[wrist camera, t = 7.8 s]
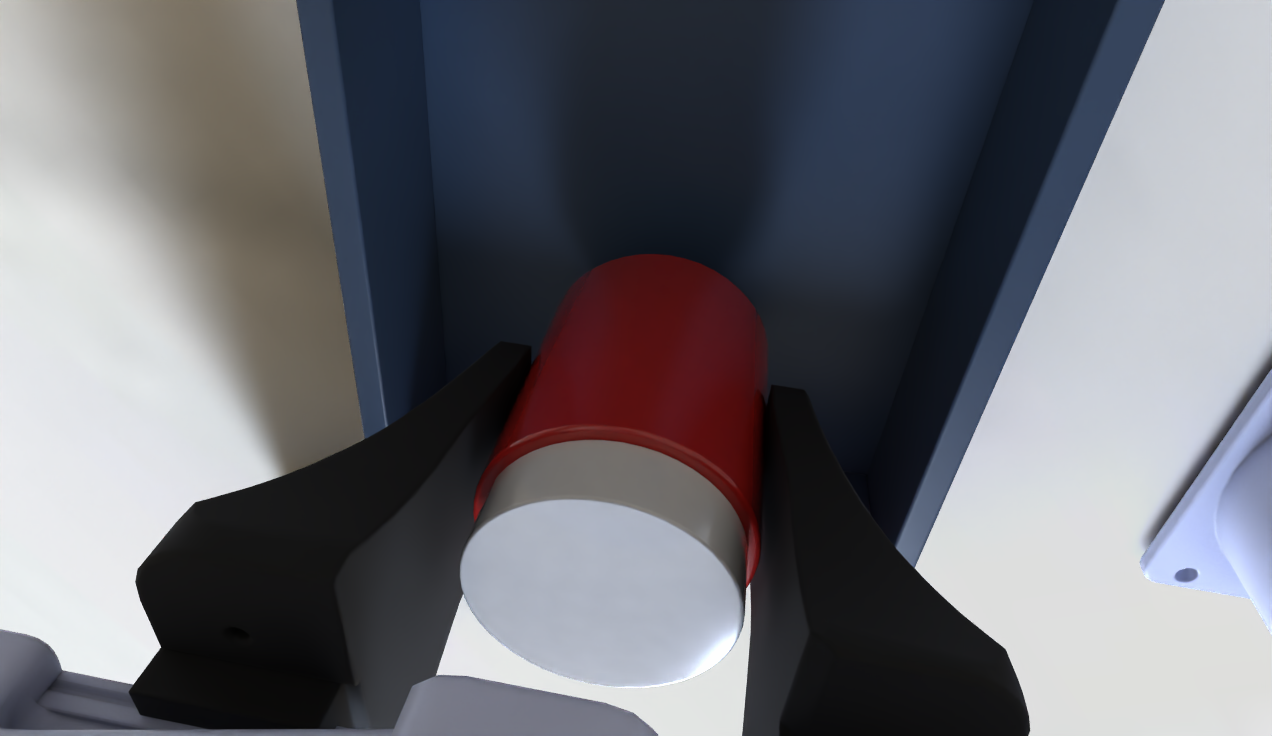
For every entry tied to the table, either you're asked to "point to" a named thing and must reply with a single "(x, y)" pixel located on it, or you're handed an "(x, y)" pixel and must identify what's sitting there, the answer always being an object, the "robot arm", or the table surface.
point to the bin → (721, 188)
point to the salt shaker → (628, 480)
